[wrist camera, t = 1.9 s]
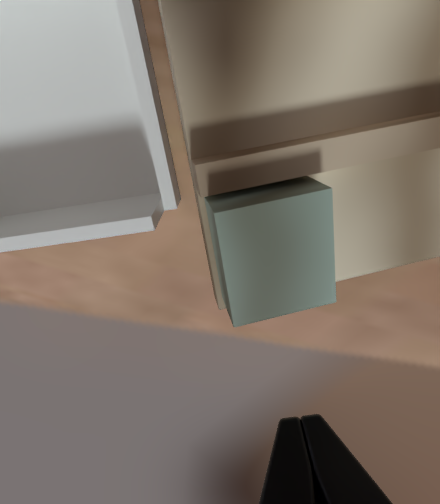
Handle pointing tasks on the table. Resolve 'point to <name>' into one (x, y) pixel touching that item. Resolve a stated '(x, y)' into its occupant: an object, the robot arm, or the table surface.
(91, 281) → the table surface
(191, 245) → the table surface
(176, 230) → the table surface
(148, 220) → the bin
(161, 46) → the table surface
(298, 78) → the lever
